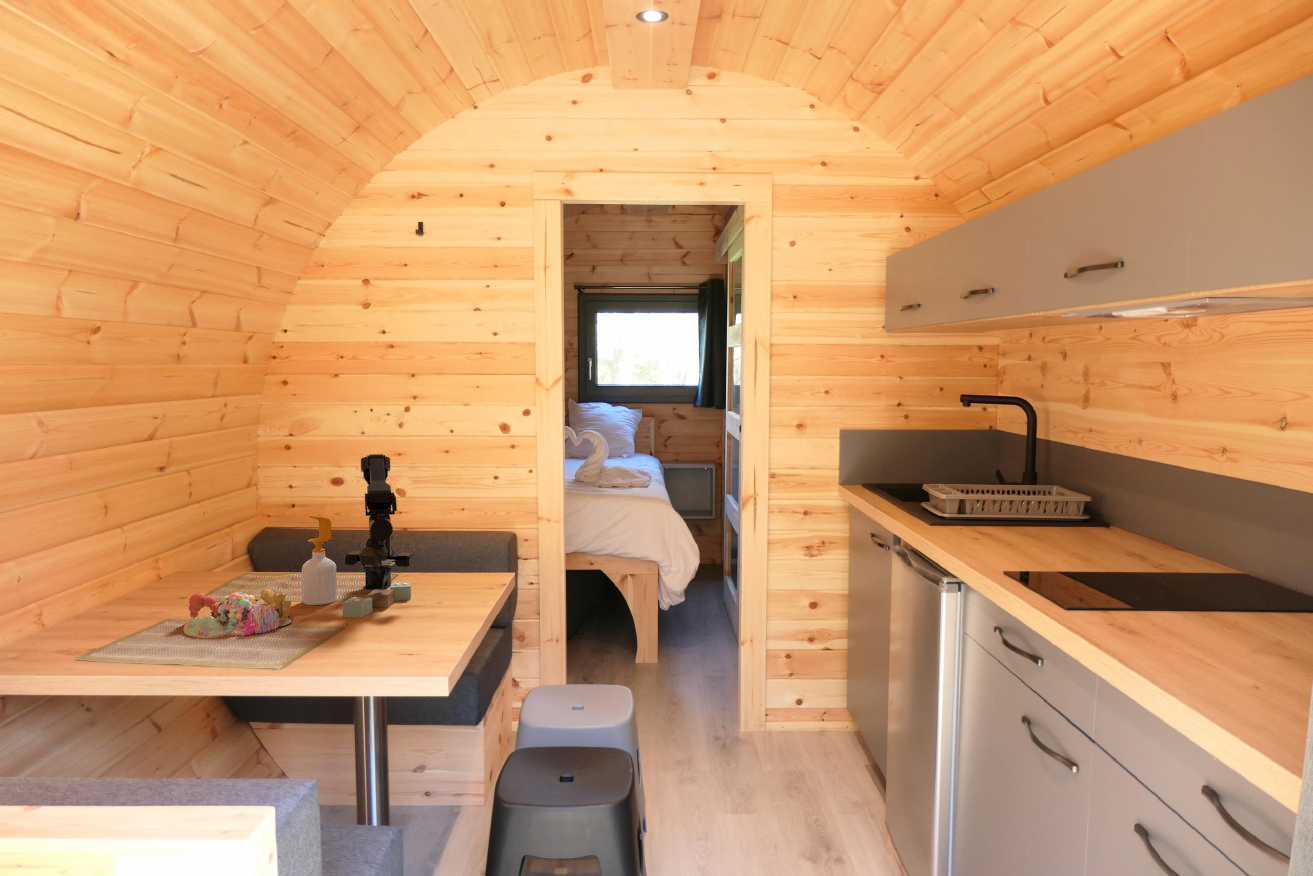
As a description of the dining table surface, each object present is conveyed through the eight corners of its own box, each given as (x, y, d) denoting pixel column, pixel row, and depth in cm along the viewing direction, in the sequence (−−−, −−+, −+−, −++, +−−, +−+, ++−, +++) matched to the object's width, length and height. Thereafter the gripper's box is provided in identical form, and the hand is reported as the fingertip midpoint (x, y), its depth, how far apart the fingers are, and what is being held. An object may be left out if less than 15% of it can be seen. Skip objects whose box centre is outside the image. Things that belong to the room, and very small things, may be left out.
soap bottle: (295, 603, 235) (293, 516, 233) (319, 596, 244) (317, 512, 242) (319, 607, 232) (318, 519, 230) (343, 599, 240) (342, 514, 239)
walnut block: (367, 609, 231) (367, 594, 231) (374, 603, 237) (374, 589, 236) (388, 609, 231) (387, 594, 231) (394, 603, 237) (393, 589, 236)
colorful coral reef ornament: (272, 607, 232) (271, 575, 232) (307, 626, 216) (306, 590, 215) (171, 626, 215) (170, 590, 214) (201, 647, 198) (200, 609, 197)
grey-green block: (342, 617, 223) (342, 601, 223) (353, 611, 229) (353, 596, 228) (361, 618, 222) (361, 602, 222) (372, 612, 228) (372, 597, 227)
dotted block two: (390, 601, 239) (390, 586, 239) (391, 596, 245) (391, 582, 244) (410, 600, 241) (410, 585, 240) (411, 595, 246) (411, 581, 246)
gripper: (333, 538, 225) (334, 595, 226) (400, 540, 223) (401, 597, 225) (352, 530, 236) (353, 585, 237) (416, 532, 234) (417, 587, 236)
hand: (380, 589), depth 233 cm, fingers closed
